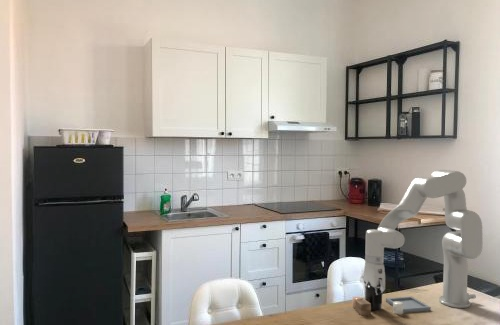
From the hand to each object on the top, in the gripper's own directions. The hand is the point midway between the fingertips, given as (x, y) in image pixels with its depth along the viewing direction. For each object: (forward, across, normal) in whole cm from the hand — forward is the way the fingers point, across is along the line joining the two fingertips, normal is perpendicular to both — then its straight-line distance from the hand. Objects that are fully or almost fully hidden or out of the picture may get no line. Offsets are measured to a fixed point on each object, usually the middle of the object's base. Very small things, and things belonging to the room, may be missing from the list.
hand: (373, 300), depth 173 cm
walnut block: (+3, -4, +7) cm, 9 cm away
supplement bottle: (+3, 0, 0) cm, 3 cm away
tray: (+3, -1, -16) cm, 16 cm away
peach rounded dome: (+3, +2, +6) cm, 7 cm away
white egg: (+3, -7, -8) cm, 11 cm away
